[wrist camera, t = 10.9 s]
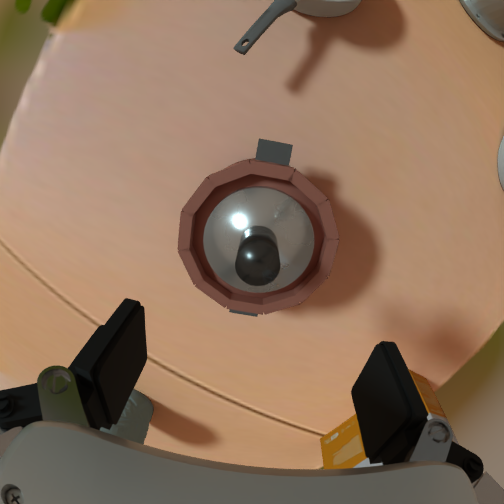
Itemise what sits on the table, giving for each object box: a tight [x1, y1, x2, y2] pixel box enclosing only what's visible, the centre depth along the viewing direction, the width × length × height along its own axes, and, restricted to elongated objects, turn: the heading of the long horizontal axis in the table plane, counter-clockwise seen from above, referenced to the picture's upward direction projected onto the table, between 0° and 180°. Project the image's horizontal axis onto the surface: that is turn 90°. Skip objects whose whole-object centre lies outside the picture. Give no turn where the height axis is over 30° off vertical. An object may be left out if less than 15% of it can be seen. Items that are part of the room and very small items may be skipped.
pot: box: [178, 139, 339, 317], centre depth 27 cm, size 13×17×8 cm
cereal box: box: [320, 369, 459, 469], centre depth 29 cm, size 22×6×30 cm, turn 147°
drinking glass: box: [100, 389, 153, 444], centre depth 38 cm, size 10×10×12 cm
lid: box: [203, 186, 314, 293], centre depth 22 cm, size 9×9×6 cm
